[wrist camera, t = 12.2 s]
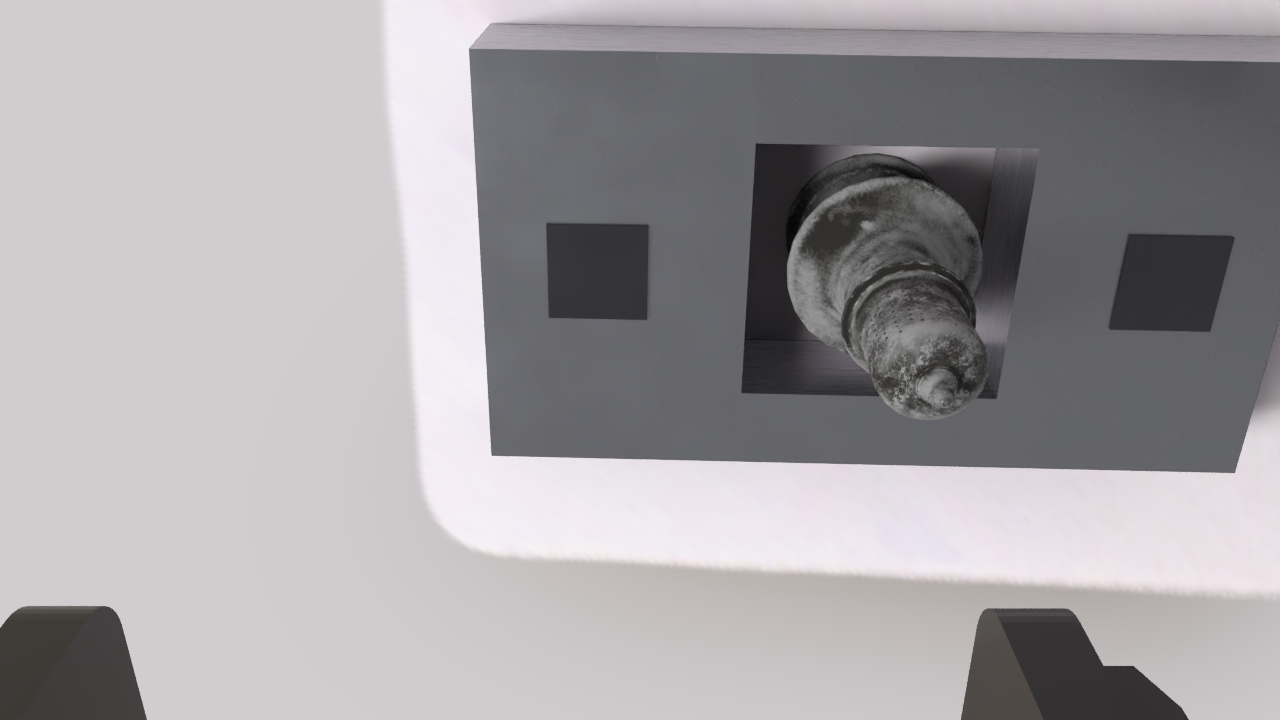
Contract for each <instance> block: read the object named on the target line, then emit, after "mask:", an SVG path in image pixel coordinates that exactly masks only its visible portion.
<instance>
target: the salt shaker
mask: <svg viewBox="0 0 1280 720" xmlns="http://www.w3.org/2000/svg"><path fill="white" fill-rule="evenodd" d="M786 238H787V250H788V253H789V258H788V262H787V288H788V291H789V294H790V298H791V301H792V304H793V307H794V310H795V312H796V313H797V315H798V316H799V318H800V319H801V321H802V322H803V324H804V325H805V327H806V328H807V330H809V331H810V332H811V333H812V334H813V335H815V336H816V337H817V338H818V339H819V340H821V341H822V342H823V343H824V344H826V345H828V346H830V347H832V348H834V349H837V350H839V351H841V352H843V353H845V354H849V355H851V357H852V358H853V360H854V361H855V362H856V363H857V364H858V365H859V366H861V367H862V368H863V369H864V370H866V371H867V372H869V373H870V375H871V378H872V381H873V383H874V386H875V389H876V391H877V392H878V394H879V395H880V397H881V398H882V400H883V401H884V402H885V403H886V404H887V405H888V406H890V407H891V408H892V409H893V410H895V411H896V412H897V413H899V414H901V415H904V416H906V417H908V418H912V419H918V420H938V419H942V418H946V417H949V416H952V415H954V414H956V413H958V412H960V411H962V410H964V409H965V408H966V407H968V406H969V405H970V404H971V403H972V402H973V401H975V400H976V398H977V397H978V395H979V394H980V393H981V391H982V390H983V388H984V385H985V382H986V380H987V377H988V356H987V352H986V348H985V345H984V343H983V342H982V340H981V338H980V337H979V335H978V333H977V332H976V330H975V328H976V312H977V311H976V307H975V303H974V297H975V295H976V292H977V289H978V286H979V283H980V280H981V277H982V262H983V250H982V246H981V242H980V238H979V233H978V230H977V228H976V226H975V224H974V223H973V221H972V219H971V218H970V216H969V214H968V212H967V211H966V209H965V208H964V207H963V206H962V205H961V204H960V203H959V202H958V201H957V200H955V199H954V198H953V197H952V196H951V195H950V194H949V193H948V192H947V191H945V190H943V189H941V188H939V187H936V186H935V184H934V183H933V181H932V180H931V179H930V178H929V177H928V176H927V175H926V174H925V173H924V172H922V171H921V170H920V169H919V168H918V167H917V166H915V165H913V164H911V163H909V162H907V161H905V160H903V159H901V158H899V157H893V156H888V155H883V154H864V155H855V156H852V157H848V158H845V159H842V160H839V161H836V162H834V163H833V164H831V165H829V166H828V167H826V168H825V169H823V170H821V171H820V172H818V173H817V174H816V175H815V176H814V177H813V178H812V179H811V180H810V181H809V182H808V183H807V184H806V185H805V186H804V187H803V188H802V189H801V191H800V193H799V195H798V196H797V198H796V200H795V202H794V204H793V205H792V207H791V210H790V214H789V218H788V222H787V226H786Z"/></svg>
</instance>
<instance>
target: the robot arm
mask: <svg viewBox="0 0 1280 720" xmlns="http://www.w3.org/2000/svg"><path fill="white" fill-rule="evenodd" d="M0 720H147V719H146V715H145V711H144V708H143V704H142V700H141V696H140V692H139V688H138V685H137V681H136V677H135V673H134V670H133V666H132V662H131V658H130V654H129V650H128V647H127V643H126V639H125V635H124V632H123V628H122V624H121V622H120V619H119V617H118V615H117V614H116V612H115V611H114V610H113V609H111V608H110V607H106V606H26V607H22V608H20V609H18V610H17V611H15V612H14V613H12V615H10V617H9V618H8V619H7V620H6V621H5V623H4V624H3V625H2V627H1V628H0ZM961 720H1188V718H1187V716H1186V714H1185V713H1184V711H1183V710H1182V708H1181V707H1180V706H1179V705H1178V704H1176V703H1175V702H1174V701H1173V700H1171V698H1169V697H1168V696H1167V695H1166V694H1165V693H1164V692H1163V691H1161V690H1160V689H1159V688H1158V687H1157V686H1156V685H1155V684H1153V683H1152V682H1151V681H1150V680H1149V679H1148V678H1146V677H1145V676H1144V675H1143V674H1142V673H1141V672H1140V671H1138V670H1137V669H1136V668H1135V667H1134V666H1103V664H1102V662H1101V661H1100V659H1099V657H1098V655H1097V653H1096V652H1095V649H1094V648H1093V646H1092V644H1091V642H1090V640H1089V638H1088V636H1087V635H1086V633H1085V631H1084V629H1083V627H1082V625H1081V623H1080V622H1079V620H1078V619H1077V617H1076V615H1075V614H1074V613H1073V612H1072V611H1070V610H1068V609H985V610H984V611H983V612H982V614H981V616H980V618H979V622H978V625H977V630H976V636H975V642H974V647H973V653H972V659H971V665H970V670H969V676H968V682H967V688H966V693H965V699H964V705H963V711H962V716H961Z"/></svg>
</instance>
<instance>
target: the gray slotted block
mask: <svg viewBox="0 0 1280 720" xmlns="http://www.w3.org/2000/svg"><path fill="white" fill-rule="evenodd" d="M469 56H470V74H471V92H472V110H473V128H474V146H475V164H476V182H477V200H478V218H479V236H480V254H481V272H482V290H483V308H484V326H485V344H486V363H487V381H488V399H489V417H490V435H491V453H492V456H530V457H573V458H616V459H659V460H701V461H744V462H787V463H830V464H873V465H916V466H959V467H1002V468H1045V469H1088V470H1130V471H1173V472H1216V473H1235V470H1236V467H1237V463H1238V460H1239V456H1240V453H1241V450H1242V446H1243V443H1244V439H1245V436H1246V432H1247V429H1248V425H1249V422H1250V418H1251V415H1252V412H1253V408H1254V405H1255V401H1256V398H1257V394H1258V391H1259V387H1260V384H1261V381H1262V377H1263V374H1264V370H1265V367H1266V363H1267V360H1268V356H1269V353H1270V350H1271V346H1272V343H1273V339H1274V336H1275V332H1276V329H1277V325H1278V322H1279V318H1280V37H1276V36H1214V35H1152V34H1090V33H1027V32H965V31H903V30H841V29H779V28H717V27H655V26H593V25H531V24H490V25H489V26H488V27H487V28H486V30H485V31H484V32H483V33H482V34H481V35H480V37H479V38H478V39H477V40H476V41H475V42H474V44H473V45H472V46H471V47H470V48H469ZM756 143H758V144H814V145H869V146H925V147H980V148H997V152H996V159H995V165H994V171H993V178H992V184H991V191H990V197H989V203H988V210H987V216H986V223H985V229H984V236H983V242H982V250H983V262H982V277H981V280H980V283H979V286H978V289H977V292H976V295H975V297H974V303H975V307H976V311H977V312H976V328H975V330H976V332H977V333H978V335H979V337H980V338H981V340H982V342H983V343H984V345H985V348H986V352H987V356H988V377H987V380H986V382H985V385H984V388H983V390H982V391H981V393H980V394H979V395H978V397H977V398H976V400H975V401H973V402H972V403H971V404H970V405H969V406H968V407H966V408H965V409H964V410H962V411H960V412H958V413H956V414H954V415H952V416H949V417H946V418H942V419H938V420H918V419H912V418H908V417H906V416H904V415H901V414H899V413H897V412H896V411H895V410H893V409H892V408H891V407H890V406H888V405H887V404H886V403H885V402H884V401H883V400H882V398H881V397H880V395H879V394H878V392H877V391H876V389H875V386H874V383H873V381H872V378H871V375H870V373H869V372H867V371H866V370H864V369H863V368H862V367H861V366H859V365H858V364H857V363H856V362H855V361H854V360H853V358H852V357H851V355H849V354H845V353H843V352H841V351H839V350H837V349H834V348H832V347H830V346H828V345H826V344H824V343H823V342H822V341H789V340H744V338H745V321H746V303H747V286H748V269H749V252H750V235H751V217H752V200H753V183H754V166H755V149H756Z"/></svg>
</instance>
